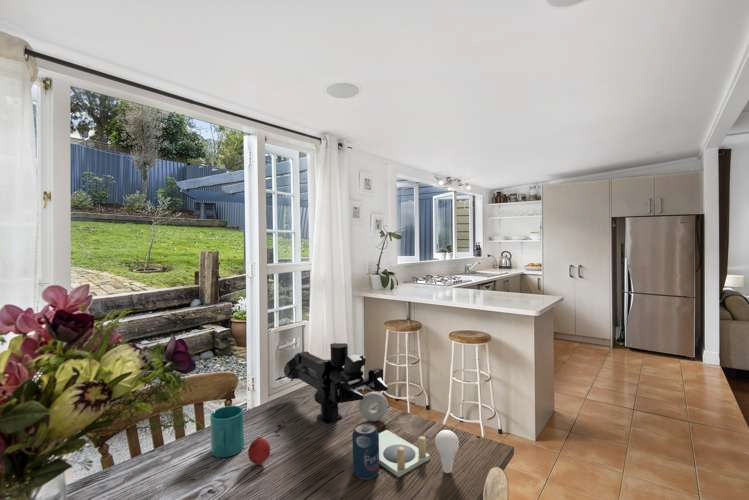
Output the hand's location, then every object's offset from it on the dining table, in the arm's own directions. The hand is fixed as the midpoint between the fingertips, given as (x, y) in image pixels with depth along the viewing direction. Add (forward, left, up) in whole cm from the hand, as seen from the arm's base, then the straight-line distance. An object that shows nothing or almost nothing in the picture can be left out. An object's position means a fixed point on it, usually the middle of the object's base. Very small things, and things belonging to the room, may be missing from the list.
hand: (375, 393), depth 108 cm
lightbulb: (+21, +7, -17) cm, 27 cm away
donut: (-13, +10, -17) cm, 24 cm away
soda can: (+7, -9, -17) cm, 20 cm away
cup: (-27, -34, -17) cm, 47 cm away
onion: (-15, -29, -17) cm, 37 cm away
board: (+5, +2, -16) cm, 17 cm away
